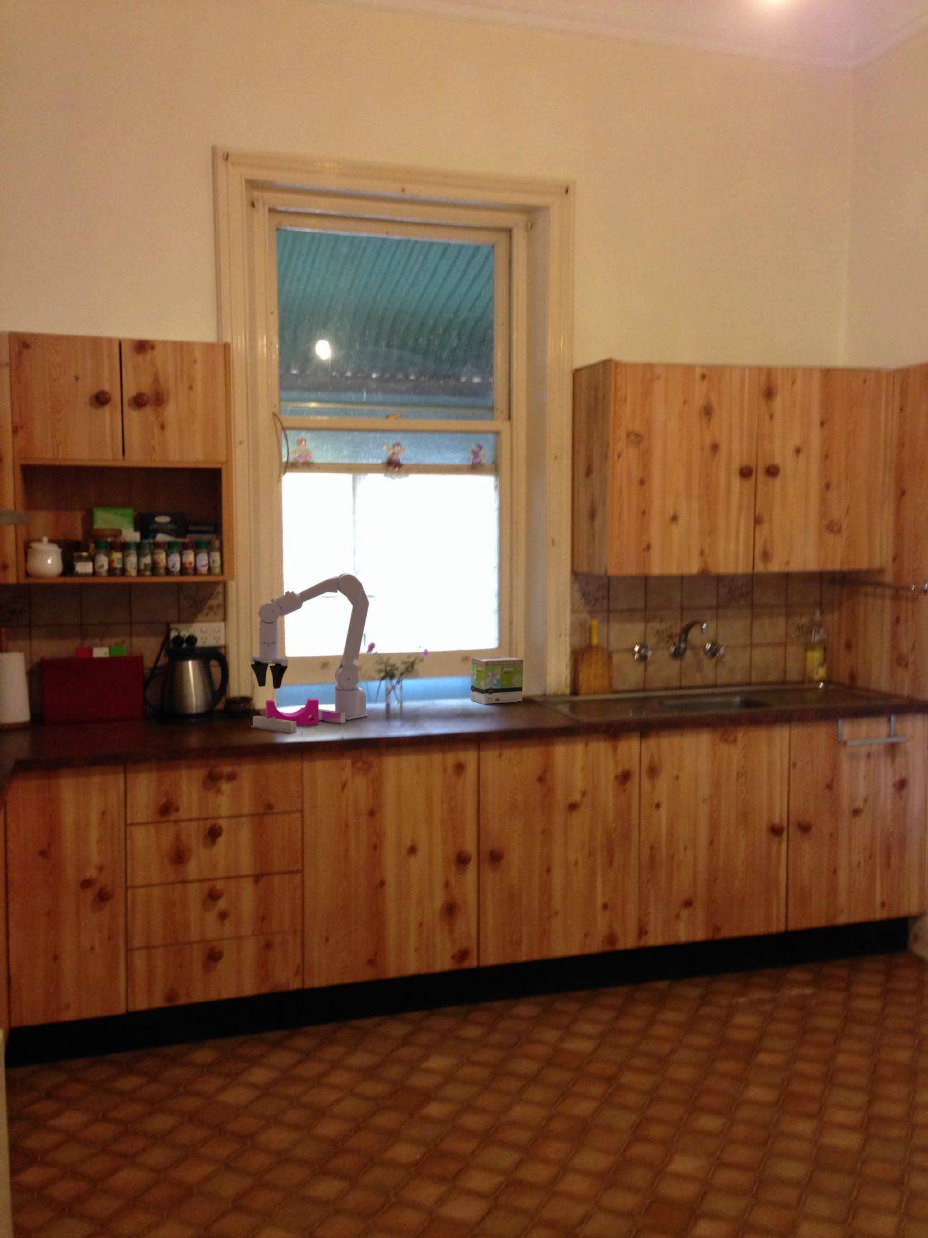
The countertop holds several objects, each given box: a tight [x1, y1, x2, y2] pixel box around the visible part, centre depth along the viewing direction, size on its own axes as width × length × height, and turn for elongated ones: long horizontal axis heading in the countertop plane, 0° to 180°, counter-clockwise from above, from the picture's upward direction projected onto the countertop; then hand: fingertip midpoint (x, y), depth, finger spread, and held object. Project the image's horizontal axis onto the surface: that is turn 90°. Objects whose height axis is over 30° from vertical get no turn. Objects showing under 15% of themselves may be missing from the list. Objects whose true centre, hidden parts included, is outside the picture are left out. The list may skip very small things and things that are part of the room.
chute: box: [250, 708, 348, 734], centre depth 321 cm, size 24×16×3 cm
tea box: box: [470, 656, 524, 705], centre depth 366 cm, size 15×10×15 cm, turn 119°
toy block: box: [265, 697, 320, 726], centre depth 322 cm, size 15×6×8 cm, turn 107°
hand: (269, 687), depth 328 cm, fingers open, 6 cm apart
